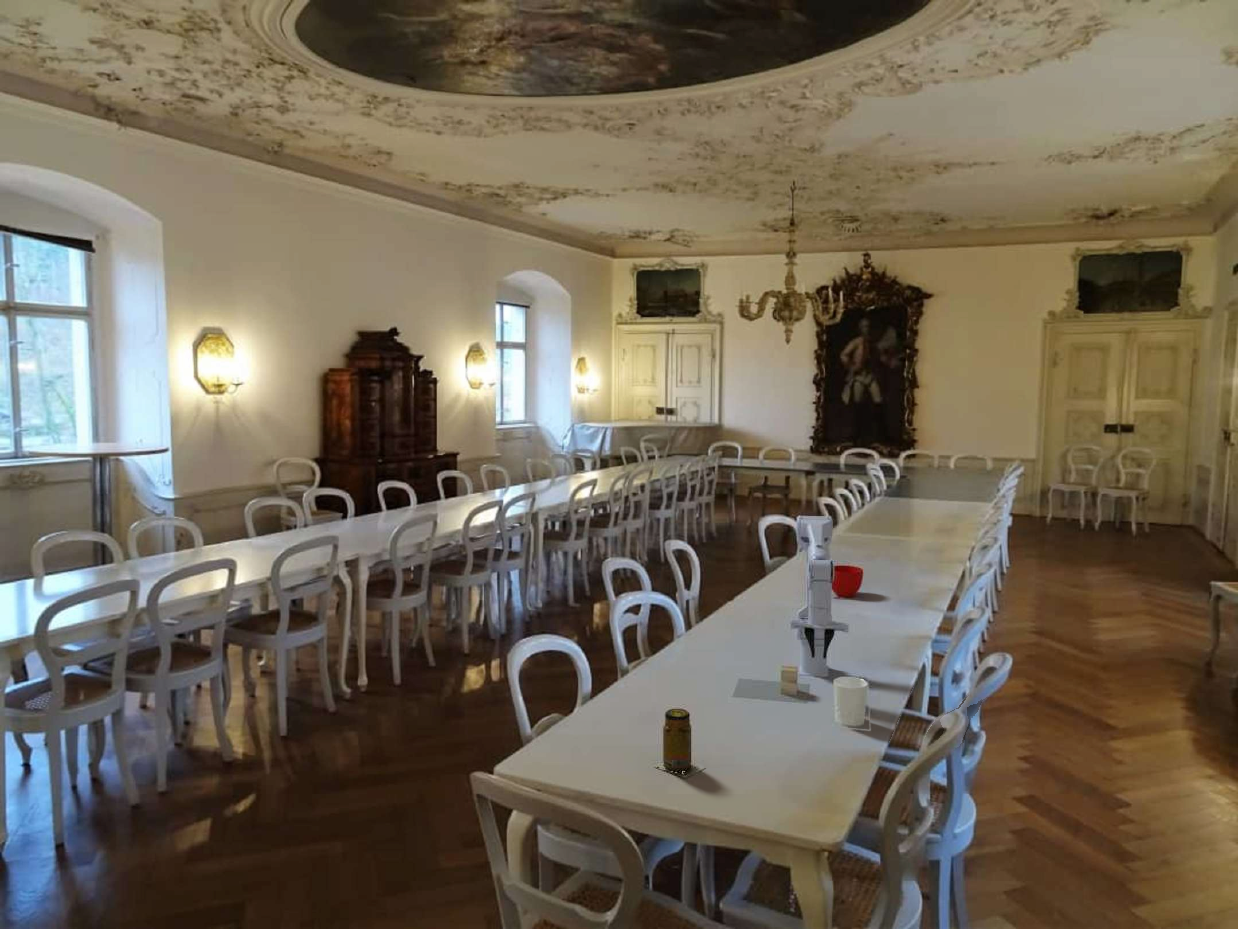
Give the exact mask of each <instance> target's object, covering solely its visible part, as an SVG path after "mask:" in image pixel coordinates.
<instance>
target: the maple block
mask: <svg viewBox="0 0 1238 929" xmlns="http://www.w3.org/2000/svg"><path fill="white" fill-rule="evenodd" d="M798 667H799V666H798V665H790V664H789V665H788V664H781V668H780V682H781V694H789V695H796V694H797V683H798V677H799V676H798V672H799V668H798Z"/></svg>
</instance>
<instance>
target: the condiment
mask: <svg viewBox="0 0 1238 929" xmlns="http://www.w3.org/2000/svg"><path fill="white" fill-rule="evenodd" d="M664 717H665V718H664V724H663V726H662V727H663V728H662V733H663V734H662V742H663V743H662V754H663V756H662V762H663V763H664V764H660V763H658V764H656V765H654V766H653V767H654V768H657V767H659V766H661V765H663V766H664V767H665V769H666V771H670V772H668V773H671V774H672V775H675V776H677V777H682V778H684V779H686V778H688V777H691V776H693V775H695V774H698V772H700V771H702V770H704V769H705V768H707V767H706V766H704V765H701V764H699V763H696V762H692V724H691V723H690V722H691V718H690V717H691V714H690V712H689V711H688V710H687V709H684V708H677V707H676V708H671V709H667V710H666V711H665V714H664ZM691 763H692V764H691ZM693 766H694V767H693ZM692 767H693V768H692ZM658 770H662V771H664V768H658ZM666 771H665V772H666ZM671 771H673V772H671ZM682 771H685V772H683V773H684V774H682ZM675 772H677V773H675Z"/></svg>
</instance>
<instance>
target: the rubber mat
mask: <svg viewBox="0 0 1238 929" xmlns="http://www.w3.org/2000/svg"><path fill="white" fill-rule="evenodd" d="M810 686H811V685H810V683H809V684H808V683H800V682H797V694H796V695H789V694H781V681H774V680H761V679H751V678H750V679H748V678H739V677H738V680H737V683H736V685H735V688H734V691H733V694H732V698H743V699H752V700H753V699H756V700H764V701H776V702H777V701H778V702H790V703H799V704H801V703H802V704H808V699H809V693H810Z"/></svg>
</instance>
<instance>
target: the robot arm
mask: <svg viewBox="0 0 1238 929" xmlns="http://www.w3.org/2000/svg"><path fill="white" fill-rule="evenodd" d="M833 520H834V519H833V517H832V516H831V515H827V516H822V515H821V516H820V515H819V516H818V515H813V516H812V515H810V516H809V515H798V516H797V517H796V543H797V546H799V547H801V548H803V550H804V551H803V552H804V554H805V587H806V588H805V594H806V595H805V598H806V602H805V604H806V605H805V606H804V607H802V608H801V609H799V610H798V611H797V614H796V619H791V620H790V629H793V630H795V635H796V636H795V637H796V639H797V640H798V641H800V663H799V666H798V667H799V668H798V675H799V676H807V677H808V676H810V677H819V678H822V677H823V678H827V677H829V667H830V666H829V665H828V649H829V647H830V644H831V642H832V640H833V639H834V636H835V632H843V633H849V622H840V621H836V620H835V621H834V620H833V616H832V598H833V597H832V592H833V590H832V583H831V581H830V579H831V580H832V582H833V580H834V566H835V565H834V559H832V557H831V553H830V545H831V543H832V537H833V533H834V522H833Z"/></svg>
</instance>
